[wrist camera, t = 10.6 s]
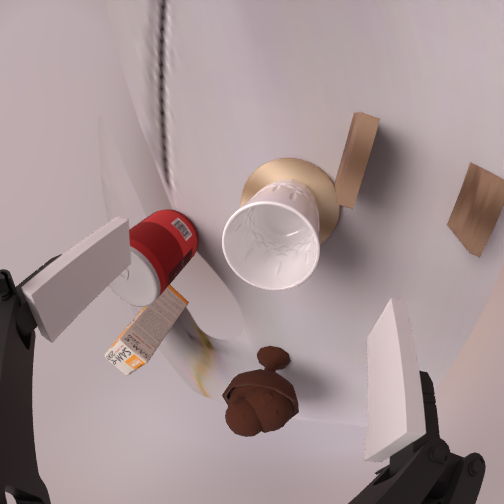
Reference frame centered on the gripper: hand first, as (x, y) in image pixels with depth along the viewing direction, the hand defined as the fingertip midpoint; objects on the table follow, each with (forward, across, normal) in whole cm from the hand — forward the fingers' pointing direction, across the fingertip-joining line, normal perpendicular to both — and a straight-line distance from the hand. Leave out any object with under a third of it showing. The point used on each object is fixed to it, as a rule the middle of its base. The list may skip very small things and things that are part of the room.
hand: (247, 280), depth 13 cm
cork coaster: (+20, 0, -4) cm, 20 cm away
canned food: (+20, -14, -12) cm, 27 cm away
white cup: (+19, 0, -4) cm, 20 cm away
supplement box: (+19, -15, -25) cm, 35 cm away
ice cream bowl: (+19, +4, -29) cm, 35 cm away
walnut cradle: (+20, +12, +4) cm, 24 cm away
